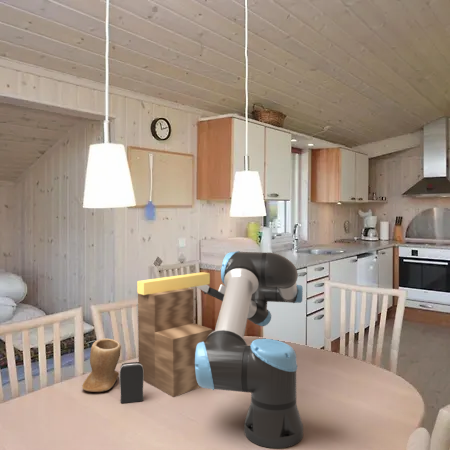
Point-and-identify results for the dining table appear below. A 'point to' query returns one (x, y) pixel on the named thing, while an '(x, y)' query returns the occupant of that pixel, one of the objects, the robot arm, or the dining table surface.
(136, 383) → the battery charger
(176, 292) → the step shelf
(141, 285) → the bar
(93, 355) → the brown boot
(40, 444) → the dining table surface
